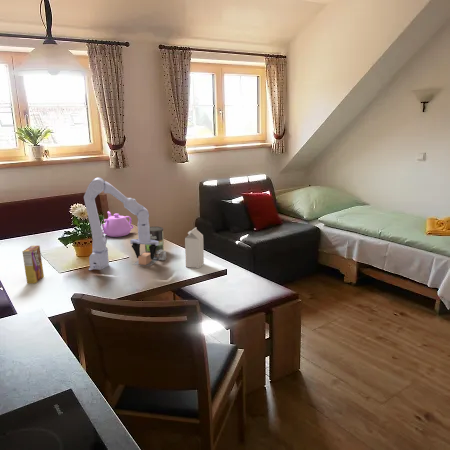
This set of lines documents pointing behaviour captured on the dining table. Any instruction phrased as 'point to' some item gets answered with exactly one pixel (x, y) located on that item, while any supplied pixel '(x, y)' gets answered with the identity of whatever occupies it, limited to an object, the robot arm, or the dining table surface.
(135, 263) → the board
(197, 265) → the milk carton
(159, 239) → the coffee can
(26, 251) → the candy box
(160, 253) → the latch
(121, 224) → the teapot
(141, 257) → the cover
